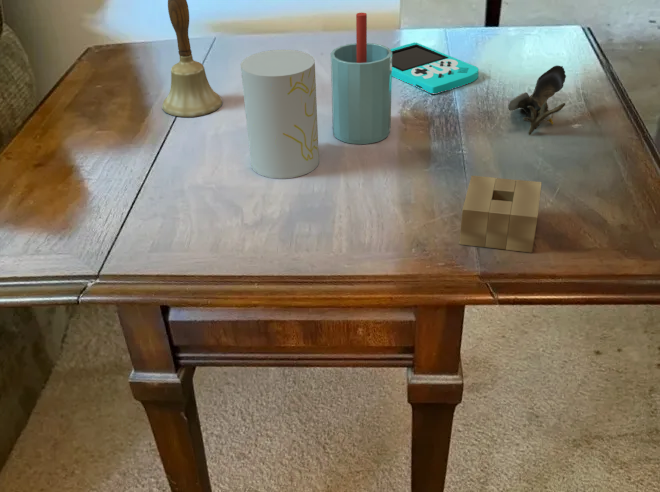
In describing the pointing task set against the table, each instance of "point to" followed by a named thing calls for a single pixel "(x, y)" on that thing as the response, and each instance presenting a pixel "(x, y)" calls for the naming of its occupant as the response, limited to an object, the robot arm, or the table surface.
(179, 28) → the hand bell
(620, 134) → the table surface
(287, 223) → the table surface
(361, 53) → the straw
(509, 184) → the straw holder
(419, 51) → the handheld game console
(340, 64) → the tumbler
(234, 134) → the table surface
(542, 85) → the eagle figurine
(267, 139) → the cup
